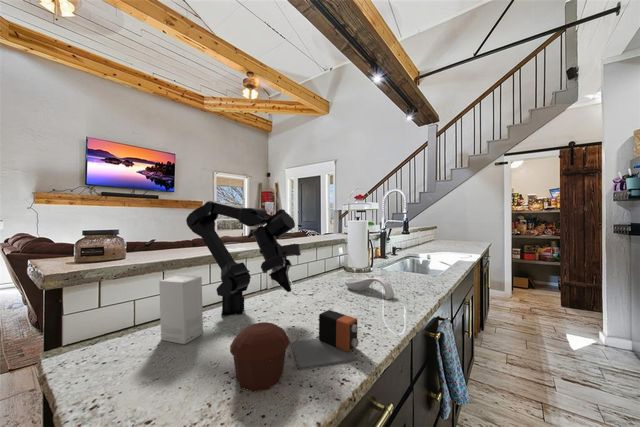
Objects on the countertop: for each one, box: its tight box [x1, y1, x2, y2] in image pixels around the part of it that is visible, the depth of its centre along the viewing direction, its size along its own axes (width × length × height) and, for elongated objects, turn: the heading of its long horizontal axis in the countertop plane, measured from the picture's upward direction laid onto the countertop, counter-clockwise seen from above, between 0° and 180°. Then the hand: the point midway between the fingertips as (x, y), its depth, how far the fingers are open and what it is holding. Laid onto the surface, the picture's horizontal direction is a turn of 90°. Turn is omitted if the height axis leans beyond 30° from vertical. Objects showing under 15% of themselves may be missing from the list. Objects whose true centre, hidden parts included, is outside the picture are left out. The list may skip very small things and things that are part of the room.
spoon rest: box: [343, 276, 395, 300], centre depth 108 cm, size 24×12×7 cm, turn 39°
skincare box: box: [158, 274, 204, 345], centre depth 67 cm, size 8×7×16 cm
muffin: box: [229, 321, 291, 393], centre depth 51 cm, size 12×11×10 cm
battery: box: [318, 309, 359, 352], centre depth 63 cm, size 4×7×10 cm
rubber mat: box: [290, 337, 358, 370], centre depth 60 cm, size 13×11×1 cm
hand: (289, 291), depth 75 cm, fingers closed
